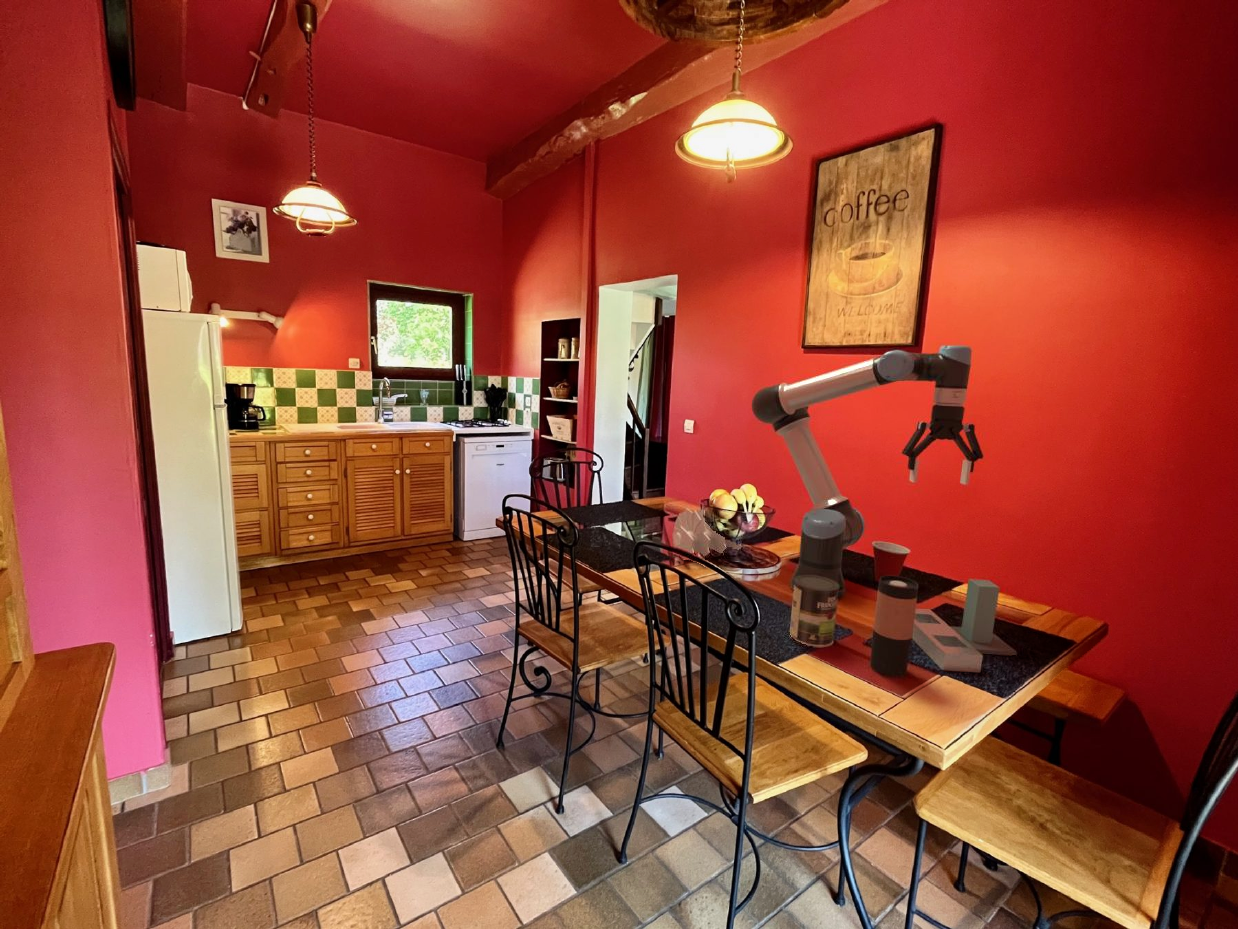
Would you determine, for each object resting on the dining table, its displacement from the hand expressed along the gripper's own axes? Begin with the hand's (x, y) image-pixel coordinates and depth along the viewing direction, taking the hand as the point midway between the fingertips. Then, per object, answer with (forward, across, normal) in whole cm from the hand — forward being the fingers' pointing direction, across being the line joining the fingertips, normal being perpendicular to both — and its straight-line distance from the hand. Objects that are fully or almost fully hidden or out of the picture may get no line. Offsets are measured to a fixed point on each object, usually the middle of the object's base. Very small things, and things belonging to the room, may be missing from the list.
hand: (938, 483), depth 155 cm
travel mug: (+35, -25, -39) cm, 58 cm away
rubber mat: (+35, +2, -23) cm, 42 cm away
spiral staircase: (+35, -58, +30) cm, 74 cm away
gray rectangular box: (+34, +2, -23) cm, 41 cm away
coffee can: (+35, -38, -26) cm, 58 cm away
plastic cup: (+35, -4, +15) cm, 38 cm away
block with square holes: (+35, -9, -26) cm, 44 cm away
